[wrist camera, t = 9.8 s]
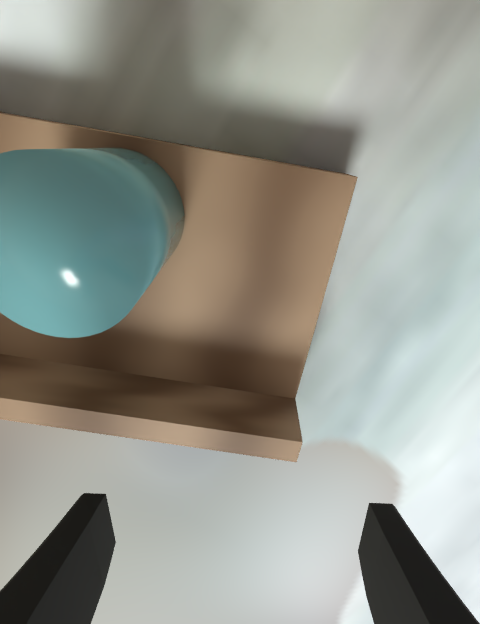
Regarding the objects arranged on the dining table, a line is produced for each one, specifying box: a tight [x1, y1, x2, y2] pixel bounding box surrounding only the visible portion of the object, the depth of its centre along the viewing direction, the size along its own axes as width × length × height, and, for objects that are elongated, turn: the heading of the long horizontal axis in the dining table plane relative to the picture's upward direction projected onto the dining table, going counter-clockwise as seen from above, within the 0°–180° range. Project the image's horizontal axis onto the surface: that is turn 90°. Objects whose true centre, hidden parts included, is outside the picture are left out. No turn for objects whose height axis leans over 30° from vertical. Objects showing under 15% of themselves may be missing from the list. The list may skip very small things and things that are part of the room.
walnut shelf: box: [0, 112, 357, 462], centre depth 16 cm, size 18×12×5 cm, turn 81°
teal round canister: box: [0, 148, 185, 338], centre depth 12 cm, size 5×5×6 cm
